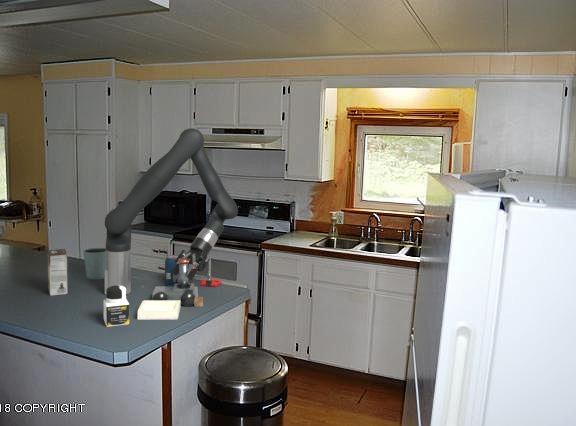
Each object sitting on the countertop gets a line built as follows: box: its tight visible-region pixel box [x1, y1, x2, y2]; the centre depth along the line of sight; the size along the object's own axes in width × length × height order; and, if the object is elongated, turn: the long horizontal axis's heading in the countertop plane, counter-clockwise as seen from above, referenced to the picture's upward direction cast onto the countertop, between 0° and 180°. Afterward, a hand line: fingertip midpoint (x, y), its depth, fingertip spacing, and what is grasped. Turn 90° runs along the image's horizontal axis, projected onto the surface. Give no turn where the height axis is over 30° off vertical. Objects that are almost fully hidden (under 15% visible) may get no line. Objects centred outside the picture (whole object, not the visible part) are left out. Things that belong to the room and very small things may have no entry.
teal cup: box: [82, 247, 106, 280], centre depth 213 cm, size 10×10×12 cm
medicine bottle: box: [103, 285, 130, 328], centre depth 161 cm, size 7×7×12 cm
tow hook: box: [200, 255, 222, 288], centre depth 210 cm, size 8×13×9 cm
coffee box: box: [46, 248, 68, 296], centre depth 190 cm, size 9×6×16 cm
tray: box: [137, 299, 181, 321], centre depth 171 cm, size 13×11×3 cm
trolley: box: [151, 283, 199, 308], centre depth 185 cm, size 16×12×6 cm
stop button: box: [178, 258, 190, 288], centre depth 185 cm, size 4×4×12 cm
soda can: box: [164, 254, 179, 286], centre depth 207 cm, size 7×7×12 cm
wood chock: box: [194, 296, 204, 308], centre depth 181 cm, size 3×2×3 cm
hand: (181, 276), depth 184 cm, fingers open, 8 cm apart
